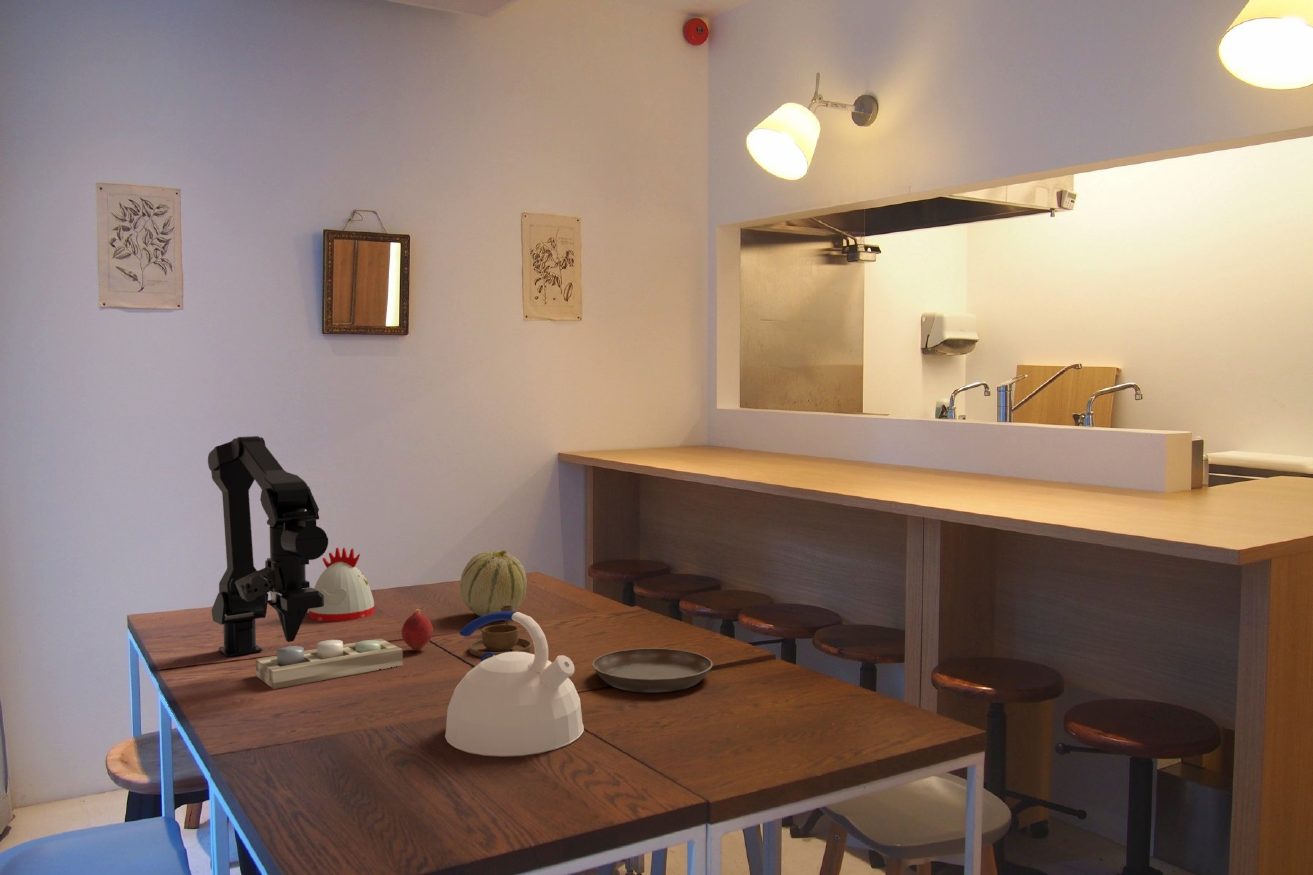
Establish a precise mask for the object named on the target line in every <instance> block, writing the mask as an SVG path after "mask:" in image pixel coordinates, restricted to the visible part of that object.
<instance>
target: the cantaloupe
mask: <svg viewBox="0 0 1313 875" xmlns="http://www.w3.org/2000/svg"><path fill="white" fill-rule="evenodd" d="M527 580H528V579H527V574H526V571H525V568H524V566H523V564H522V563H521V561H520V560H519V559H517V558H516V557H515V556H513V555H511V554H510V553H508V552H507V550H506V549H502V550H497V549H496V550H494V549H492V550H487V551H483V552H478V554H476V555H475V556H473V557H472V558H471V559H470V560H469V561H468V562H467V564H466V565H465V567H464V569H463V571H462V573H461V576H460V579H459V592H460V597H461V599H462V601H463V603H464V605H465V606H466V607H467V609H468V610H470V611H471V612H473V614H475V615H477V616H478V617H481V616H483V615H487V614H490V613H495V612H501V606H513V611H517V609H518V608H519V607H520V606H521V605H522V603H523V602H524V599H525V597H526V595H527V594H526V592H527V589H528V588H527V586H528V585H527V584H528V581H527Z"/></svg>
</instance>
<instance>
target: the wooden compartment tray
mask: <svg viewBox="0 0 1313 875" xmlns="http://www.w3.org/2000/svg"><path fill="white" fill-rule="evenodd" d="M374 640H377V641H380V648H381V650H375V651H369V652H363V653H358V652H356V648H355V644H356V643H357V642H351V643H350V642H349V643H346V644H344V643H343V656H340V657H334V658H328V659H318V658H317V648H314V649H309V650H304V663H299V664H293V665H287V666H279V665H277V655H272V656H265V657H260V658H255V676H256V677H257V678H258V679H260V680H261V681H262V682H263V683H265V684H266V685H267V686H269V687H271V688H272V689H273V690H275V689H276V690H277V689H281V688H287V687H292V686H298V685H305V684H310V683H315V682H320V681H325V680H331V679H336V678H341V677H347V676H348V677H349V676H353V675H358V674H365V673H369V672H374V671H380V670H379V669H381V670H385V669H391V667H392V668H396V666H397V667H403V666H404V663H403V662H404V661H403V660H404V659H403V658H404V657H403V656H404V654H403V651H404V650H403V648H402V647H399V646H397V645H395V644H393V643H390V641H387V640H385V639H383V638H376V639H374Z"/></svg>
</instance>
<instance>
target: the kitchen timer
mask: <svg viewBox="0 0 1313 875" xmlns="http://www.w3.org/2000/svg"><path fill="white" fill-rule="evenodd" d="M328 556H329V561H330V562H329V561H328V560H327V559H326V557H322V561H323V563H324V565H325V567H326V568H325V569H324V570H323V571H322V573H321V574H320V576H319V577H318V579H317V581H316V583H315V584H314V589H316V590H318V591H319V592H320V593H322V594H323V595H324V606H323V607H318V608H311V609H308V613H309V615H308V616H309V617H308V618H310V619H311V620H313V619H314V621H318V622H319V621H320V622H345V621H346V622H347V621H353V620H354V619H355V620H359V619H358V618H361V619H364V617H365V618H368V617H370V616H369V615H371V616H373V615H374V614H375V600H374V597H373V593H372V590H371V588H370V585H369V582H368V581H367V578H366V577H365V575H364V574H363V572H361V570H360V569H359V568H358V567H357V564H358V561H359V560H360V559H359V558H360V556H361V553H358V554H357V555H356V557H355V550H354V548H351V549H350V551H349V555H348V554H347V549H346V548H345V547H343V548H342V552H340V549H339V547H336V548H335V552H334V554H333V553H332V552H331V551H330V552H329V553H328ZM373 613H374V614H373ZM367 616H368V617H367ZM355 620H354V621H355Z"/></svg>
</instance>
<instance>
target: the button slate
mask: <svg viewBox="0 0 1313 875" xmlns="http://www.w3.org/2000/svg"><path fill="white" fill-rule="evenodd" d="M304 651H305V649H304V647H303V646H299V645H294V646H293V645H291V646H289V645H288V646H284V647H280V648H278V649H277V650H276V656H277V665H279V666H287V665H293V664H299V663H304Z"/></svg>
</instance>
